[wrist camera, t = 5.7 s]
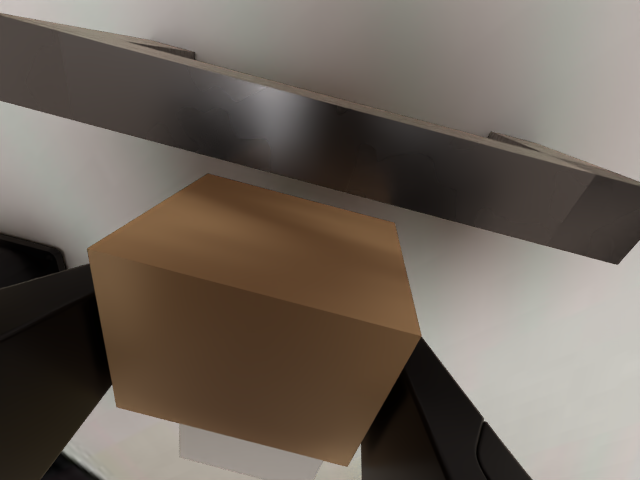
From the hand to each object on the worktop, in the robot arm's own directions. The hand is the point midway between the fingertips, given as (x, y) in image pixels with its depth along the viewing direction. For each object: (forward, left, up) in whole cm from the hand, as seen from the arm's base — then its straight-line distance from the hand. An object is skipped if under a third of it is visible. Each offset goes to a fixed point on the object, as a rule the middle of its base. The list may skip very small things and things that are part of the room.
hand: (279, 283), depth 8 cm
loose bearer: (0, 0, -1) cm, 1 cm away
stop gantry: (0, +3, -8) cm, 9 cm away
